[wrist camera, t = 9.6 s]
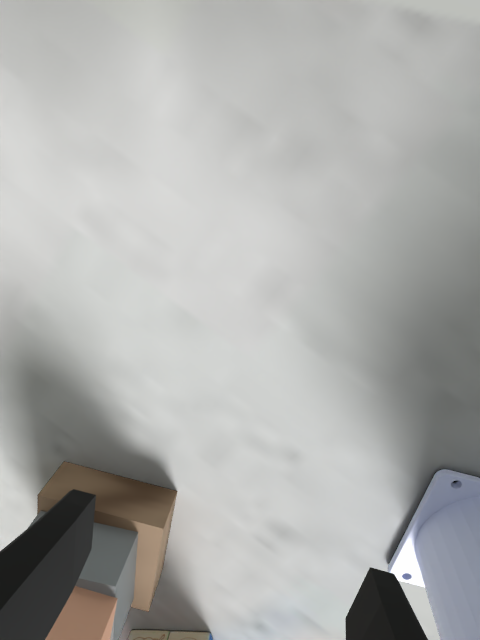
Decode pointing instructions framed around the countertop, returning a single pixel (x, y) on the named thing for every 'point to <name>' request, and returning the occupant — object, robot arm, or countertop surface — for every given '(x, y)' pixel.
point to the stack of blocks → (168, 635)
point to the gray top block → (111, 568)
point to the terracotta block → (85, 617)
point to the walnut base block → (122, 516)
